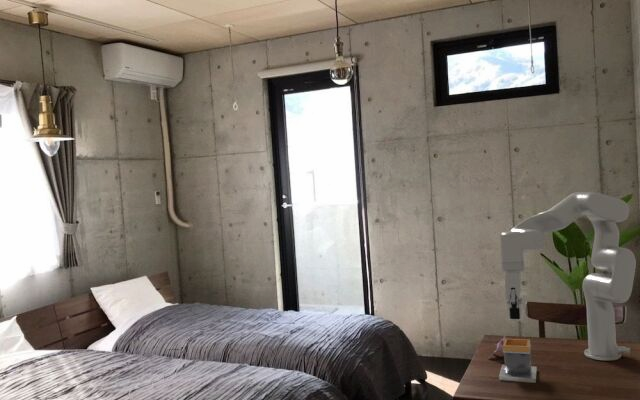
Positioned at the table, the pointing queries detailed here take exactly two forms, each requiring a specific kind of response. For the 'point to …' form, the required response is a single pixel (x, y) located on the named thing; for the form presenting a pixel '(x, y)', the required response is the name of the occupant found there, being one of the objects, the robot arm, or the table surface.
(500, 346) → the lily
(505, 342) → the grey and orange container
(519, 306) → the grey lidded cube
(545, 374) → the table surface
